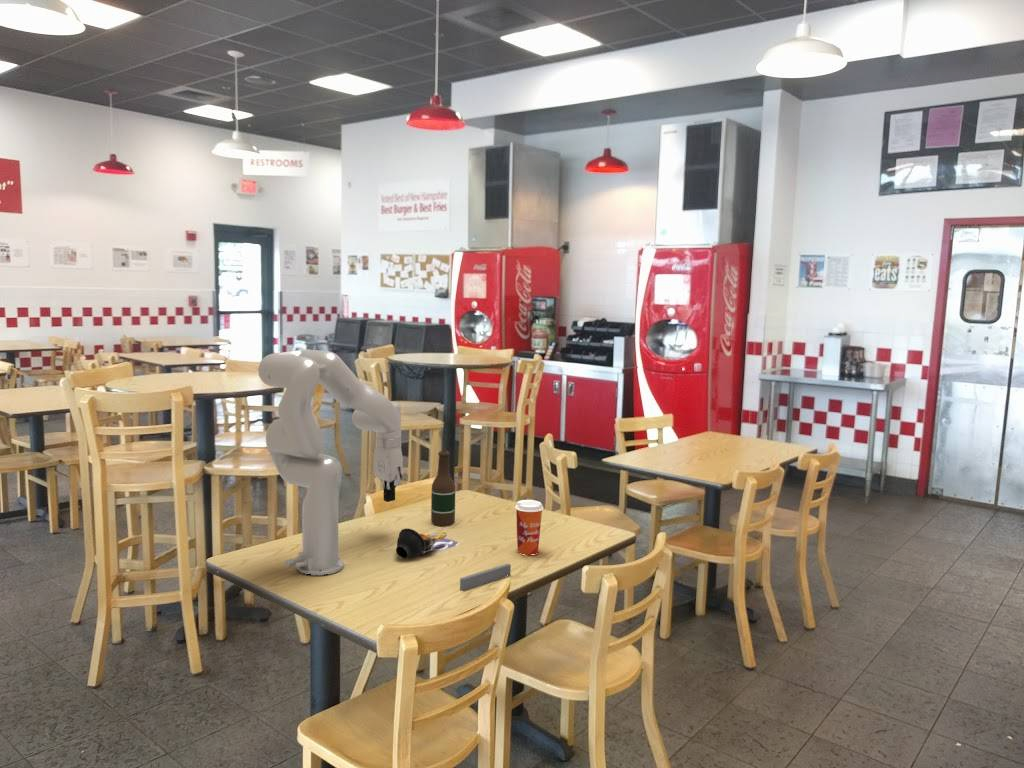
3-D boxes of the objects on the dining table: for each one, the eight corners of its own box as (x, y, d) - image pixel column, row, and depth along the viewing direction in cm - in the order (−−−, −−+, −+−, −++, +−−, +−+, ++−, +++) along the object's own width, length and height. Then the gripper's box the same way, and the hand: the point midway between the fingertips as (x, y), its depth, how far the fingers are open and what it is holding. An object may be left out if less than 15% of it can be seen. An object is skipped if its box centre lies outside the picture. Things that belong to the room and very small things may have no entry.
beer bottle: (453, 527, 246) (454, 454, 243) (429, 526, 246) (430, 453, 243) (455, 519, 254) (457, 449, 250) (432, 519, 254) (433, 448, 251)
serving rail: (463, 590, 196) (463, 579, 195) (460, 589, 197) (460, 578, 196) (510, 575, 207) (510, 564, 207) (507, 573, 208) (507, 563, 207)
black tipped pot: (382, 542, 216) (416, 508, 231) (401, 574, 219) (433, 538, 233) (405, 537, 211) (438, 502, 226) (424, 569, 213) (456, 533, 228)
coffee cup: (518, 558, 220) (519, 507, 218) (510, 548, 228) (512, 499, 226) (545, 556, 222) (547, 506, 220) (537, 546, 230) (539, 498, 228)
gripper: (364, 439, 234) (365, 497, 237) (392, 448, 224) (393, 509, 226) (385, 436, 239) (386, 492, 242) (413, 445, 229) (413, 503, 231)
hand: (389, 500), depth 234 cm, fingers closed
